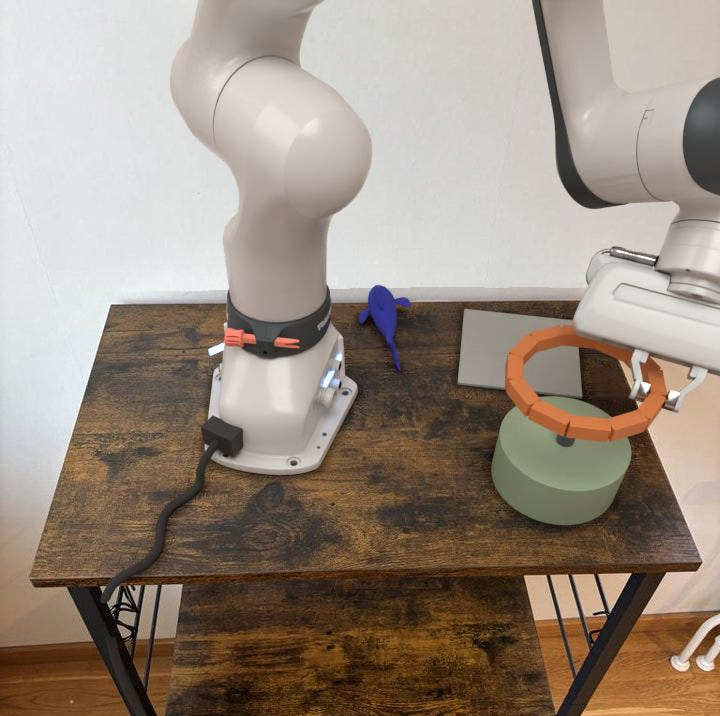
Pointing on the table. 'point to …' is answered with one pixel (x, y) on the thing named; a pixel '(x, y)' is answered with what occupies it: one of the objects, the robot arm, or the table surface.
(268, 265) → the robot arm
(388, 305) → the fish toy
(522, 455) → the stand
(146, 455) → the table surface
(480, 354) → the mat
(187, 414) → the table surface
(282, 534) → the table surface
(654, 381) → the ring
